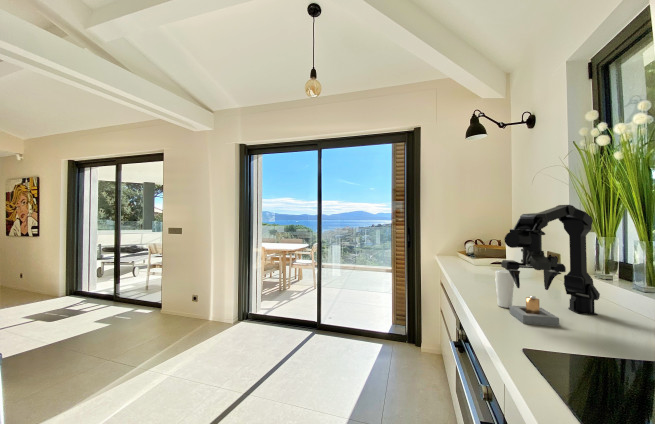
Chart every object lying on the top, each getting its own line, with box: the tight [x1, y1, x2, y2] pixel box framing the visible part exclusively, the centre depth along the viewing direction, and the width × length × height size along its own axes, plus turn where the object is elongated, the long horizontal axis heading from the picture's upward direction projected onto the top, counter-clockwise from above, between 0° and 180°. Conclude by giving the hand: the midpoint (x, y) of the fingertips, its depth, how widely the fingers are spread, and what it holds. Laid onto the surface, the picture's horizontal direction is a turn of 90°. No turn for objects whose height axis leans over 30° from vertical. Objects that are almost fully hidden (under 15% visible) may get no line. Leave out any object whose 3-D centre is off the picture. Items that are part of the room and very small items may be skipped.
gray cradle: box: [509, 304, 560, 328], centre depth 99 cm, size 11×11×3 cm
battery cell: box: [525, 295, 540, 314], centre depth 99 cm, size 4×4×8 cm
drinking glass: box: [494, 269, 515, 309], centre depth 114 cm, size 7×7×15 cm
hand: (532, 288), depth 99 cm, fingers open, 9 cm apart
